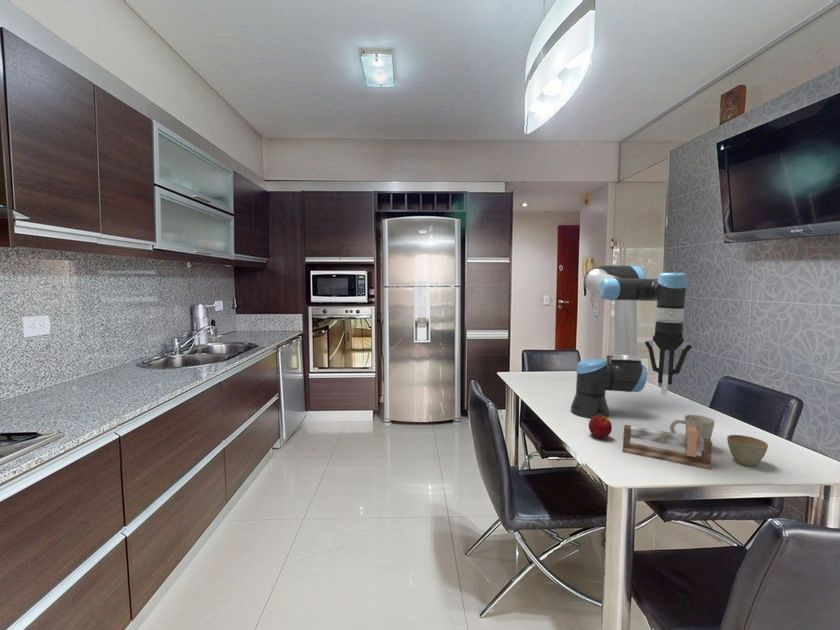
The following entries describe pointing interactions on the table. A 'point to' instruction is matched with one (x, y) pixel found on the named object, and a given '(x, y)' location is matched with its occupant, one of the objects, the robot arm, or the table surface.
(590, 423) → the apple
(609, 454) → the table surface
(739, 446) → the beige bowl
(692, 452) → the salmon pink flat block
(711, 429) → the mug
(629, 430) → the pipe stand
